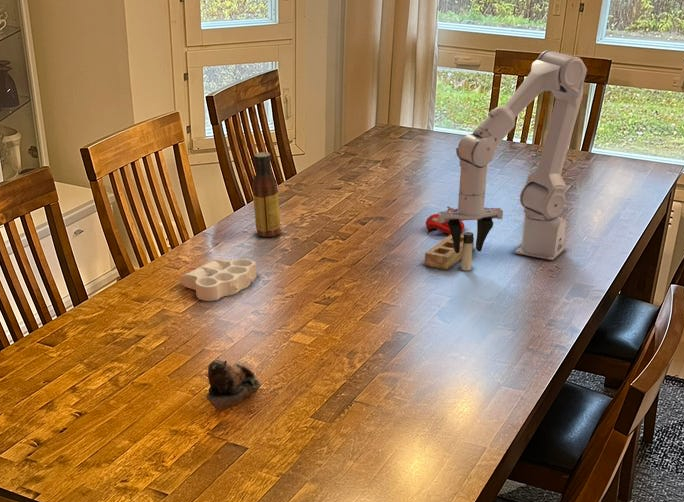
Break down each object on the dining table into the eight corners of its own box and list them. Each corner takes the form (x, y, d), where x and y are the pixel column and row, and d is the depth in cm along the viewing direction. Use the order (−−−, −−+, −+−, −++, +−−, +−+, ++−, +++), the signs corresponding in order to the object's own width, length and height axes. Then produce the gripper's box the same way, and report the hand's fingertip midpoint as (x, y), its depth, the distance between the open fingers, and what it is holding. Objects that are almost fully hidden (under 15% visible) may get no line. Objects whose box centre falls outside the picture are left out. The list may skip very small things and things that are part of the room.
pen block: (473, 249, 241) (474, 237, 239) (446, 269, 231) (447, 257, 229) (451, 245, 244) (452, 233, 242) (424, 265, 234) (425, 252, 232)
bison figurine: (236, 383, 188) (233, 334, 183) (268, 391, 186) (265, 342, 180) (200, 411, 180) (195, 361, 174) (233, 420, 177) (229, 370, 171)
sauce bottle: (282, 229, 255) (279, 150, 243) (279, 238, 250) (276, 158, 238) (256, 229, 255) (252, 150, 244) (253, 238, 250) (249, 157, 239)
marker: (472, 268, 232) (475, 232, 227) (468, 271, 230) (471, 236, 225) (463, 266, 233) (466, 231, 228) (459, 269, 231) (462, 234, 226)
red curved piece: (470, 230, 248) (433, 224, 246) (464, 245, 251) (427, 239, 249) (461, 204, 256) (424, 197, 254) (455, 218, 259) (419, 212, 257)
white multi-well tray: (221, 265, 236) (270, 278, 229) (171, 291, 224) (222, 306, 217) (220, 251, 234) (270, 264, 227) (169, 277, 222) (221, 291, 215)
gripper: (498, 184, 225) (493, 242, 233) (435, 188, 224) (432, 246, 231) (507, 194, 219) (502, 253, 227) (443, 198, 218) (439, 257, 226)
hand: (467, 250), depth 229 cm, fingers open, 4 cm apart
